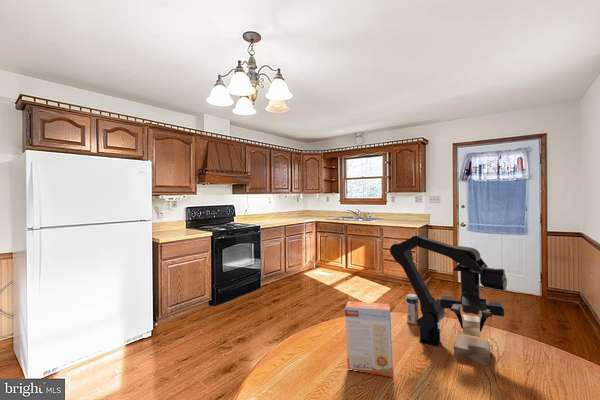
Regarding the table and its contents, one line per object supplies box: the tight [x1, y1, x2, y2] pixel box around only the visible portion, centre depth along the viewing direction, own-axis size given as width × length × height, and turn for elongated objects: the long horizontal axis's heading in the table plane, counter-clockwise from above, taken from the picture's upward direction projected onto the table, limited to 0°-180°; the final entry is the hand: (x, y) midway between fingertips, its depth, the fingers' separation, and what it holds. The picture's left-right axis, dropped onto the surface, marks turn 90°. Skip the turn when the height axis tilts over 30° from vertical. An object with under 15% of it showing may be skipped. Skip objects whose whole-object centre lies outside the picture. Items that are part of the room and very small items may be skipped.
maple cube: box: [462, 314, 481, 338], centre depth 99 cm, size 5×5×5 cm
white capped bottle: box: [405, 293, 420, 325], centre depth 126 cm, size 5×5×12 cm
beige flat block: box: [453, 334, 491, 367], centre depth 99 cm, size 10×10×4 cm
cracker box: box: [344, 300, 394, 378], centre depth 93 cm, size 14×6×21 cm, turn 71°
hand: (471, 329), depth 99 cm, fingers closed on maple cube, 5 cm apart
